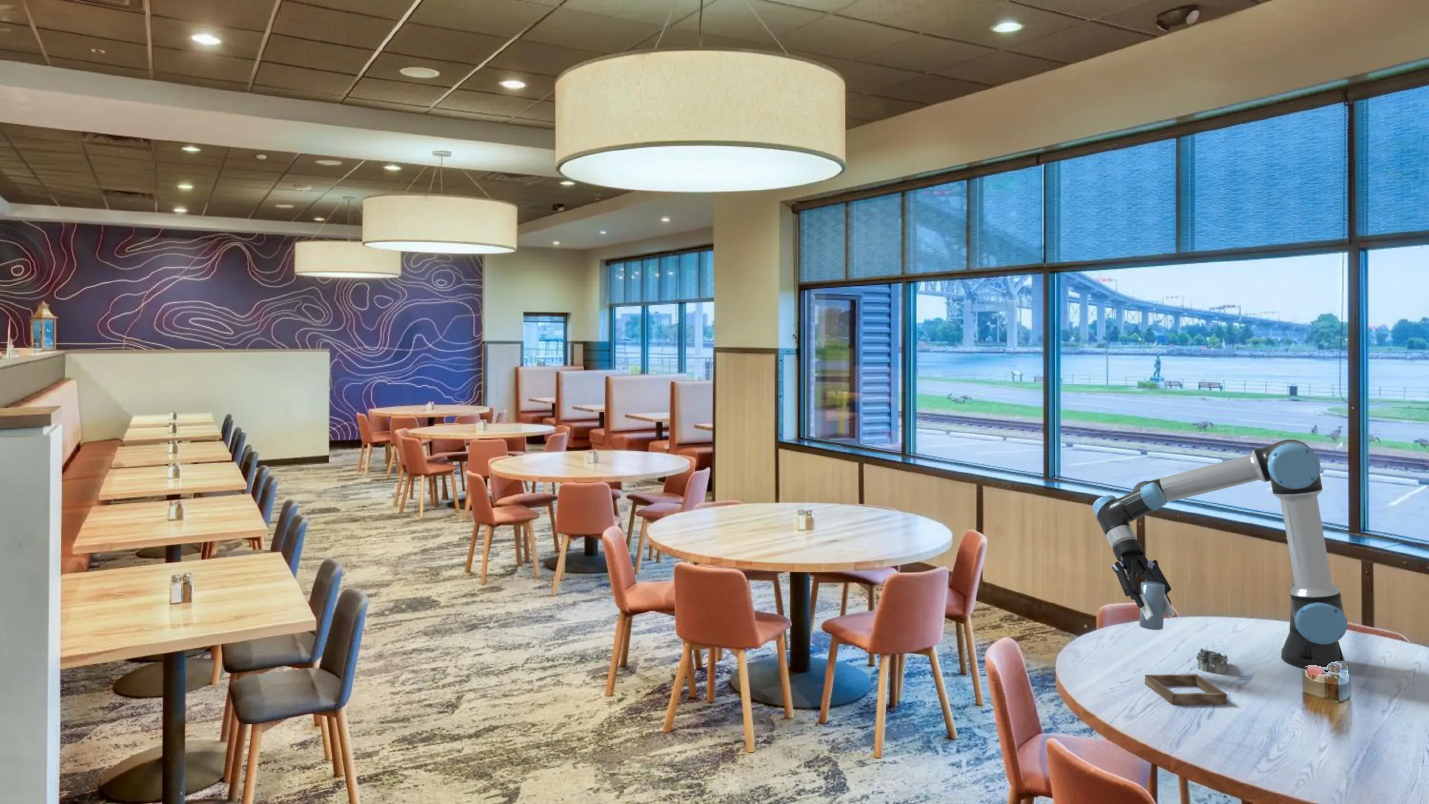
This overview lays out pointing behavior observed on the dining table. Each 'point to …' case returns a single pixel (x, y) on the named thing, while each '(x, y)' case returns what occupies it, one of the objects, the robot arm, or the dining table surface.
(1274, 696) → the dining table surface
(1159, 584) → the slate jar
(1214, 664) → the egg carton
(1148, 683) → the wooden square frame
